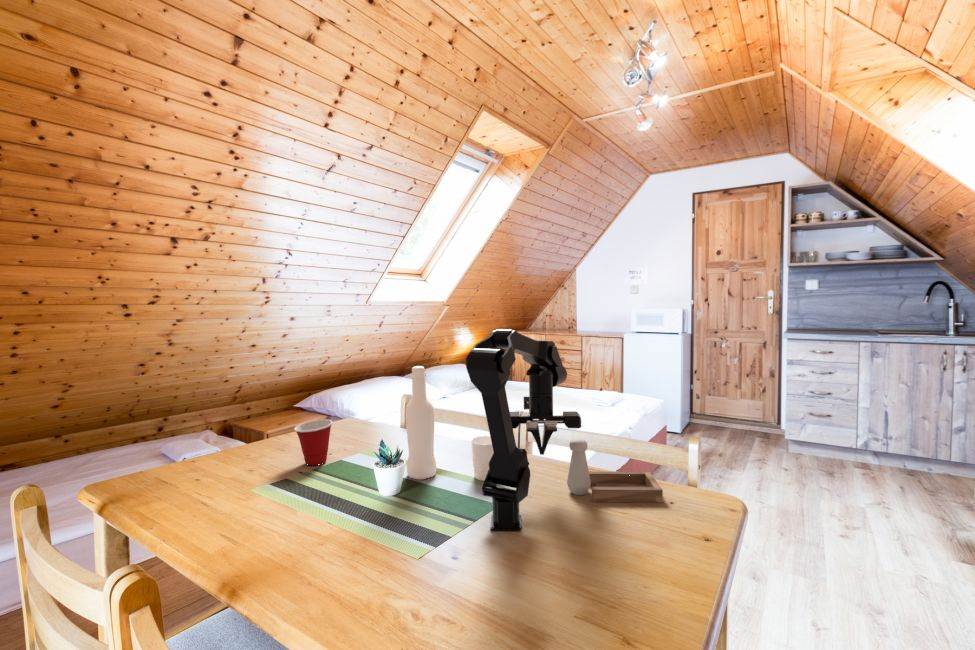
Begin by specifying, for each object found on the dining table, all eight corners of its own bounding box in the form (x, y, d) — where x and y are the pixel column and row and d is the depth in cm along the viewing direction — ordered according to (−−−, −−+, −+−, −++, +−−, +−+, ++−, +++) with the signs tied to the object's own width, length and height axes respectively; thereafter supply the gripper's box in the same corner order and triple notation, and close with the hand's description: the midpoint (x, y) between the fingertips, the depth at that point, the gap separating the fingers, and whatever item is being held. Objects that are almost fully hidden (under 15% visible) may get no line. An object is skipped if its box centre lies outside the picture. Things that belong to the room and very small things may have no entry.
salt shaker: (592, 496, 117) (592, 443, 116) (568, 497, 117) (568, 444, 117) (588, 487, 123) (587, 436, 122) (565, 487, 123) (564, 436, 122)
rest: (662, 502, 113) (662, 489, 113) (592, 502, 114) (592, 489, 114) (649, 483, 125) (649, 471, 125) (586, 482, 126) (586, 471, 126)
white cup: (489, 484, 126) (488, 446, 126) (466, 478, 131) (465, 441, 130) (507, 474, 133) (506, 438, 132) (484, 469, 137) (483, 434, 137)
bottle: (431, 481, 129) (427, 369, 127) (402, 479, 131) (398, 368, 129) (440, 470, 137) (437, 364, 135) (413, 468, 139) (409, 364, 137)
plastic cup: (294, 460, 148) (292, 421, 147) (331, 454, 153) (330, 417, 152) (297, 472, 138) (295, 430, 137) (336, 465, 143) (334, 425, 142)
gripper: (575, 384, 127) (576, 444, 128) (503, 385, 128) (505, 444, 129) (581, 393, 116) (581, 458, 117) (502, 394, 117) (503, 458, 118)
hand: (541, 454), depth 120 cm, fingers closed
